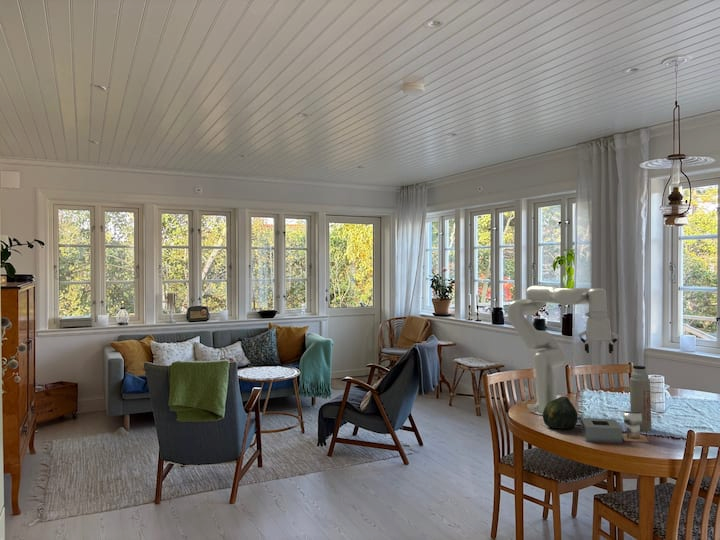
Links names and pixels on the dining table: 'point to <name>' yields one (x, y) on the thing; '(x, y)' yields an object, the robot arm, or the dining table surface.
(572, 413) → the squash
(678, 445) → the dining table surface
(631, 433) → the end cover
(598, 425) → the box
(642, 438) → the coaster
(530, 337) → the robot arm
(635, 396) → the thermos bottle
